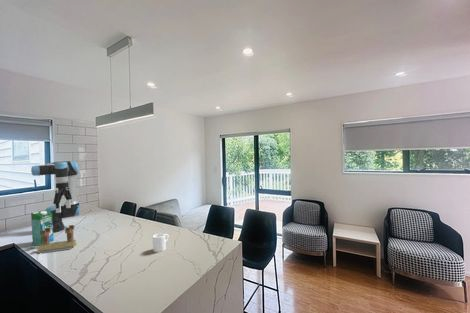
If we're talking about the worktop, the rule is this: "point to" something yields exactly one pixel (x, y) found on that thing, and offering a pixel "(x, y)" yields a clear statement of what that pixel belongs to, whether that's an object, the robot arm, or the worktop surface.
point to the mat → (55, 250)
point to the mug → (159, 242)
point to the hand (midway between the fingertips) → (63, 210)
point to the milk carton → (41, 225)
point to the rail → (56, 245)
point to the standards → (47, 230)
